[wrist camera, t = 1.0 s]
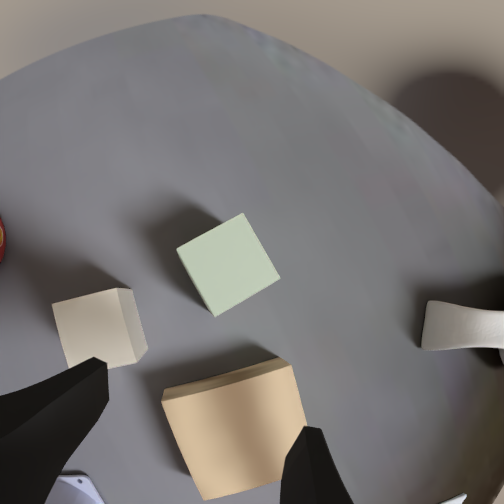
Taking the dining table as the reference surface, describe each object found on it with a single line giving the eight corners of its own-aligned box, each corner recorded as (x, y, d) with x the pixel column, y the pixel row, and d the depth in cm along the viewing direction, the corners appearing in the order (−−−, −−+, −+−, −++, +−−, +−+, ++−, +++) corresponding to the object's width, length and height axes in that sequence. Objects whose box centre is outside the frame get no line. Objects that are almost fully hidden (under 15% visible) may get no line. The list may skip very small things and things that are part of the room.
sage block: (209, 312, 23) (214, 317, 18) (179, 258, 23) (176, 248, 18) (262, 281, 24) (280, 278, 19) (232, 229, 24) (242, 212, 19)
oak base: (201, 480, 20) (203, 500, 17) (164, 388, 21) (161, 401, 18) (304, 449, 22) (317, 465, 19) (279, 356, 23) (291, 365, 20)
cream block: (94, 360, 20) (71, 375, 16) (78, 302, 21) (51, 303, 16) (148, 348, 21) (136, 362, 16) (132, 289, 22) (116, 287, 17)
